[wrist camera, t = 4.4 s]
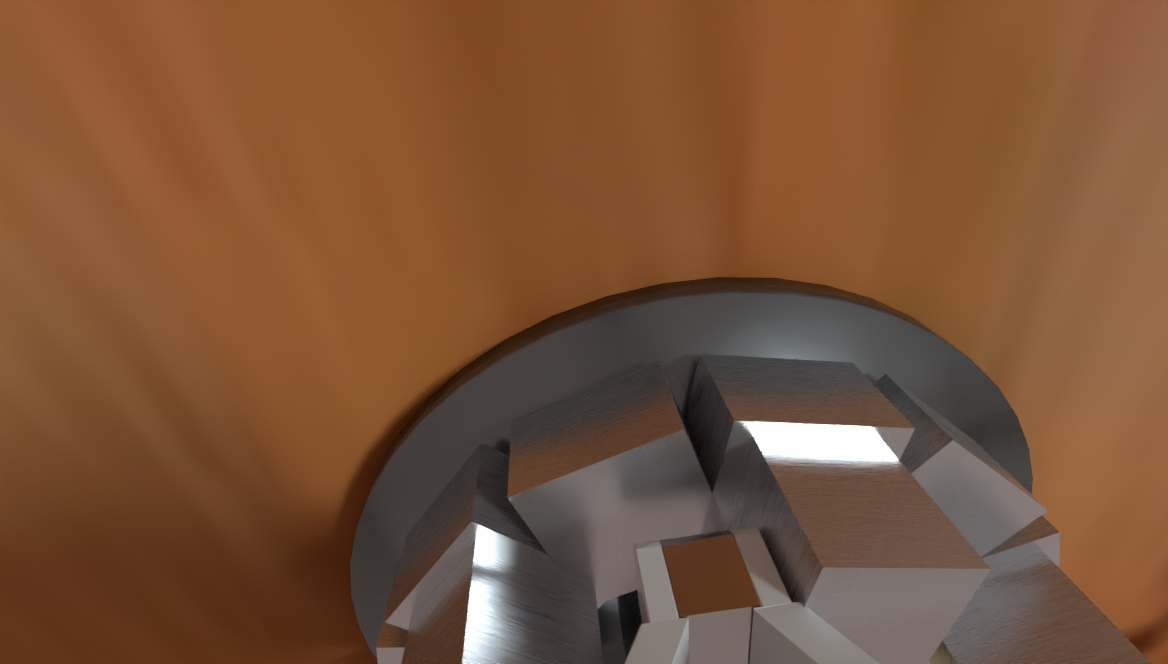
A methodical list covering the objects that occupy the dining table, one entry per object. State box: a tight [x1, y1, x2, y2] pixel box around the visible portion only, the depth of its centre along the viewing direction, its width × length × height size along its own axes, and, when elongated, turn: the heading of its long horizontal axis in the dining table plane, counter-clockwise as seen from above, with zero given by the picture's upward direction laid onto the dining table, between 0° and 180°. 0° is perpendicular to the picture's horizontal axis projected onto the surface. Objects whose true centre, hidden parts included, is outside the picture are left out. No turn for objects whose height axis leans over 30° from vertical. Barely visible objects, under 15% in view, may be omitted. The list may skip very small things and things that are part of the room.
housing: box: [350, 277, 1033, 664], centre depth 16 cm, size 21×21×6 cm
